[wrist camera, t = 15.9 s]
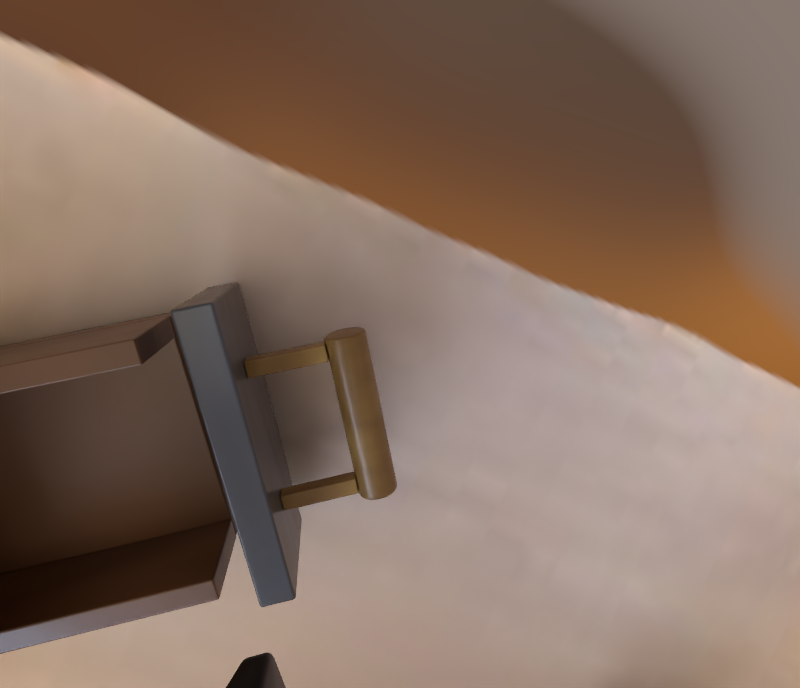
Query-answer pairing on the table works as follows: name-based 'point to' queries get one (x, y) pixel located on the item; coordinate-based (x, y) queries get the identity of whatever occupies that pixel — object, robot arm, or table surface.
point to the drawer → (160, 466)
